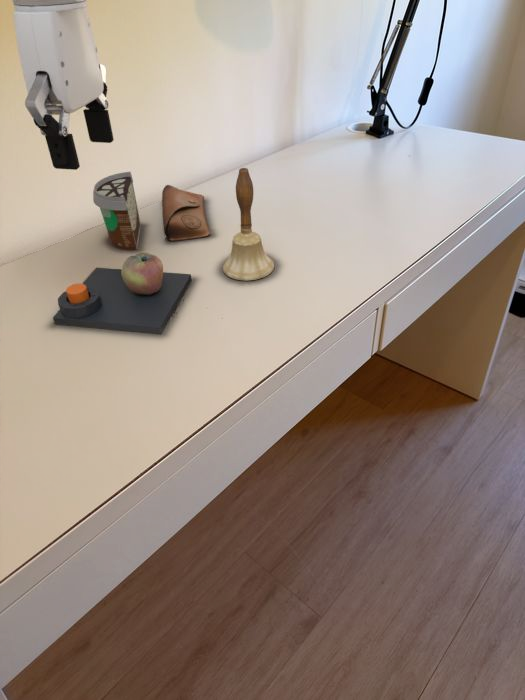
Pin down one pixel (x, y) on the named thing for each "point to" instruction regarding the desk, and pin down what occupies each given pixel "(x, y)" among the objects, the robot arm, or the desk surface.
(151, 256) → the apple
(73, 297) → the button
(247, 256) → the hand bell
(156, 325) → the scale
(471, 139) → the desk surface
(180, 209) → the sunglasses case
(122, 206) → the food container
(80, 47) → the robot arm
